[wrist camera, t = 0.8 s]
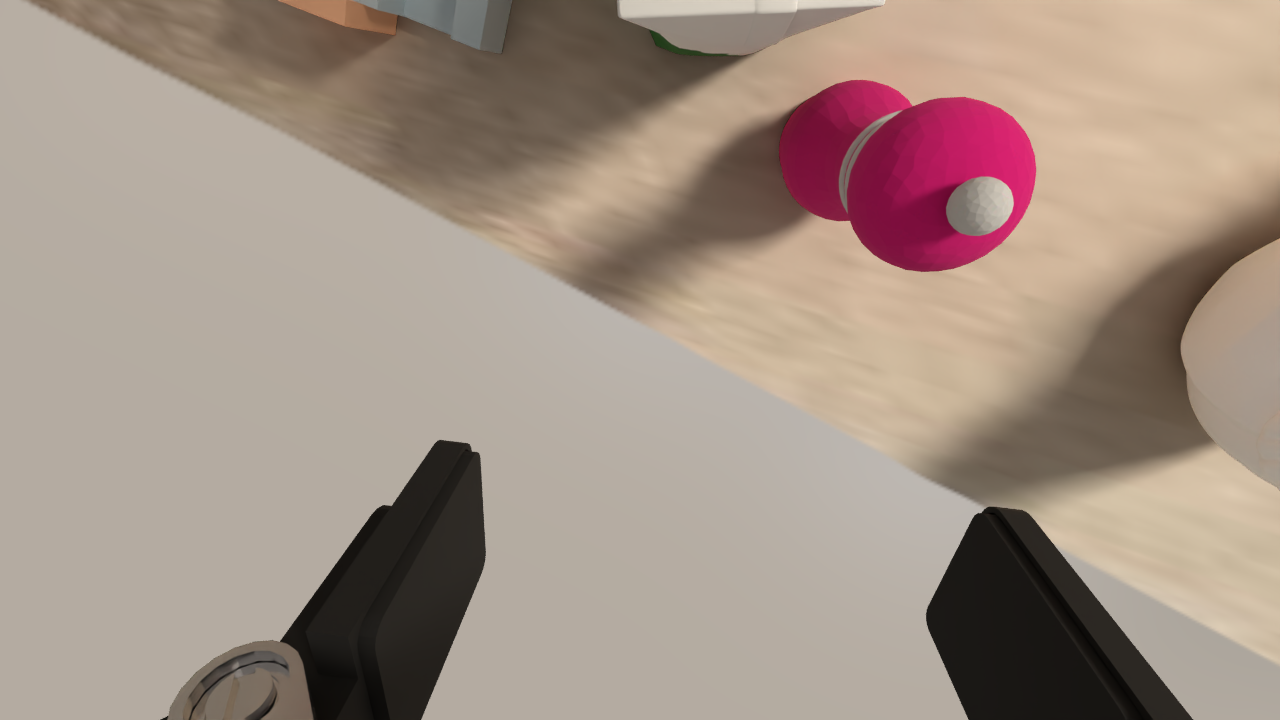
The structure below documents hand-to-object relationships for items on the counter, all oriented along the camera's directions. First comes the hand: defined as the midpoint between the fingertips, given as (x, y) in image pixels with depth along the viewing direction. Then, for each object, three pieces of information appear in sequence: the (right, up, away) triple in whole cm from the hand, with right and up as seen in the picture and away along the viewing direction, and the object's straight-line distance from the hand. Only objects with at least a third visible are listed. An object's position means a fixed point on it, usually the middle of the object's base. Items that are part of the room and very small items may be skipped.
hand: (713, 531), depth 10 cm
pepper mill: (+10, +17, +23) cm, 31 cm away
